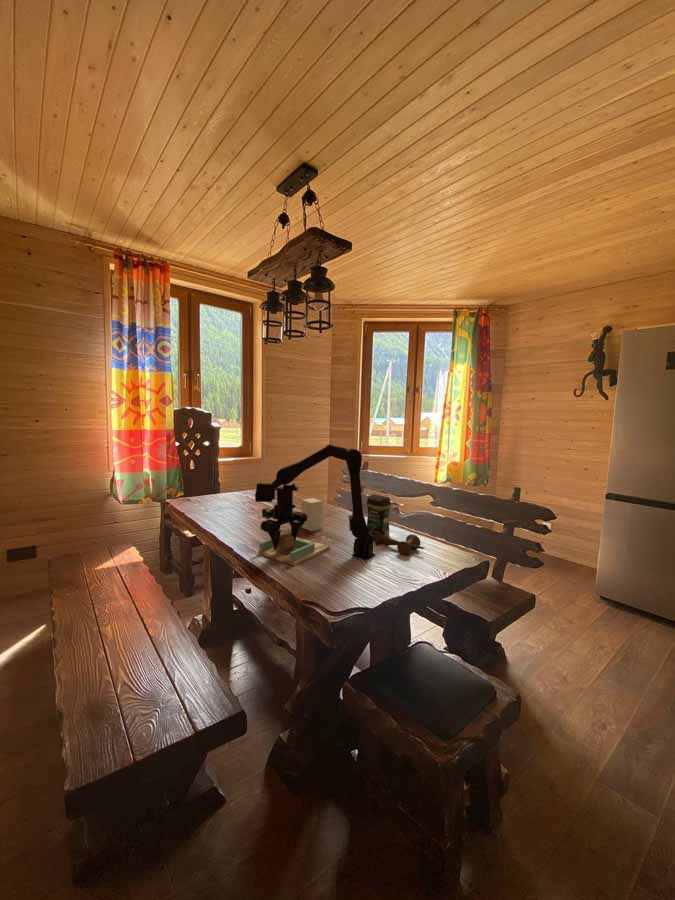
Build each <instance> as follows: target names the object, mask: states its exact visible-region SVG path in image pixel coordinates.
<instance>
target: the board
mask: <svg viewBox="0 0 675 900" xmlns="http://www.w3.org/2000/svg"><path fill="white" fill-rule="evenodd" d="M296 539H299V540H303V541H307V542H310V543H314V544H315V552H313V553H311V554H308V555H306V556H304V557H302V558H300V559H297V560H295V561H290V554H289V555H287V556H286V555H282V554H279V553H276V548H274V547H272V548H270V549H267V550H264V551H260V549H259V550H258V554H259V555H262V556H264V557H267V558H269V559H270V558H271V559H273V560H276V561H280V562H283V563H285V564H288V565H291V566H294V567H295V566H298V565H300V564H301V563H304V562H306V561H308V560H310V559H312V558H315V557H317V556H318V555H321V554H323V553H325V552H327V551H329V550H330V549H331V546H330V545H327V544H323V543H319V542H316V541H312V540H309V539H304V538H302V537H298V536H297V537H296ZM297 549H299V548H295V547H294V548H292V551H295V550H297Z"/></svg>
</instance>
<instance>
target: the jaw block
mask: <svg viewBox="0 0 675 900" xmlns="http://www.w3.org/2000/svg"><path fill="white" fill-rule="evenodd" d="M292 548H294V536H291V535H290V534H286V533H282V534H281V533H280V538H279V543H278V547H277V548H276V553H279V554H282V555H286V556H287V555H289V554H291V552H292Z"/></svg>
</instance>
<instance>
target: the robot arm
mask: <svg viewBox="0 0 675 900" xmlns="http://www.w3.org/2000/svg"><path fill="white" fill-rule="evenodd" d="M330 457H332V458H333V457H334V458H336V459H339V460H342V461H345V463H346V466H347V471H348V474H349V486H350V497H351V509H352V511H351V515H350V514H349V515H347V518H348V521H349V522H348V528H349V532H351V534H352V535H353V537H355V538H354V542H353V550H352V551H353V552H352V553H353V554H351V557H352V558H353V557H354V558H356V559H360V560H364V561H369V560H370V559H372V558H374V557H375V556H376V553H374V542H375V541H374V540H373V539H374V538H373V536H372V533H371V531H370V530H369V529H368V528H367V521H366V519H365V516H364V511H363V499H362V486H361V474H360V473H361V469H362V461H363V460H362V459H363V456H362V453H361V451H360V450H359V449H357V448H355V447H350V448H345V447H341V446H337V445H333V444H327V445H325V446H323V447H322V448H320V449H319V450H317V451H316V452H314V453H312V454H311V455H309V456H306V457H305V458H303V459H301V460H299V461H298V462H297V461H296V462H294V463H291V464H289V465H285V466H283V467H281V468H280V469H279V470H278V471H277V473H276V474H275V475H276V476H275V477H276V478H275V480H273V481H272V483H271V482H270V483H269V482H268V483H263V482H257V483H256V489H255V494H254V499H255V502H256V503H272V502H273V500H276V504H274V506H273V508H272V509H270V508H269V507H265V508H263V509H262V511H261V516H262V518H266V520H263V521H261V522H260V531H261V530H262V531H263V532H266V533H267V534H268V536H269V538H270V539H271V540H272V543H273V545H274V548H277V547H278V543H279V538H280V535H281V532H282V530H280V529H281V526H283V525H286V524H289V525H290V529H291V531H290V533H291V535H290V536H294V541H295V539H296V537H298V535H299V533H300V531H301V530H302V529H303V528H302V526H303V524H305V521H307V515H306V514H305V513H302V511H301V512H300V511H294V509H295V508H296V504H294V501H293V500H294V491H296V492H297V491H298V490H299V486H297V485H296V483H295V482H293V481H294V480H295V479H297V478H298V477H299V476H300V475H301V474H302V473H304V472H305V471H307V470H308V469H310V468H312V467H314V466H315V465H317V464H319V463H321V462H323V461H325V460H327V459H329V458H330ZM291 482H293V483H292V484H290V483H291ZM282 485H283V486H282Z"/></svg>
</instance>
